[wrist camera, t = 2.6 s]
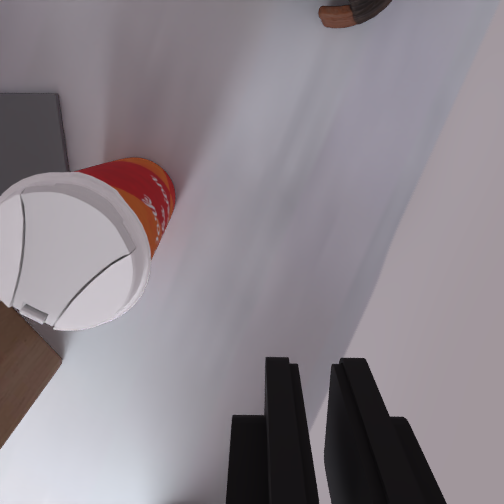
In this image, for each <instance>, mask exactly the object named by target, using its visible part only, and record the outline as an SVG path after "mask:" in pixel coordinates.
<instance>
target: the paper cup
mask: <svg viewBox="0 0 504 504" xmlns="http://www.w3.org/2000/svg"><path fill="white" fill-rule="evenodd" d="M174 206H175V189H174V186H173V183H172V181H171V179H170V177H169V176H168V174H167V173H166V172H165V171H164V170H163V169H162V168H161V167H160V166H159V165H157V164H156V163H154V162H152V161H150V160H147V159H143V158H125V159H120V160H115V161H112V162H108V163H104V164H100V165H96V166H93V167H89V168H85V169H82V170H78V171H74V172H48V173H42V174H36V175H33V176H30V177H27V178H24V179H22V180H20V181H19V182H17V183H15V184H13V185H12V186H11V187H9V188H8V189H7V190H6V191H5V192H3V193H2V195H1V196H0V300H1V301H2V302H3V303H4V304H5V305H6V306H7V307H11V306H12V305H13V307H14V308H16V309H18V310H20V314H22V315H24V316H26V317H28V318H30V319H32V320H34V321H36V322H38V323H40V324H43V323H47V324H49V325H51V326H53V325H55V327H54V328H53V329H54V330H61V331H77V330H84V329H89V328H92V327H95V326H98V325H100V324H104V323H107V322H110V321H112V320H114V319H116V318H118V317H120V316H121V315H123V314H124V313H126V312H127V311H128V310H129V309H131V308H132V307H133V306H134V305H135V304H136V302H137V301H138V300H139V298H140V297H141V295H142V294H143V292H144V290H145V288H146V285H147V283H148V279H149V276H150V271H151V260H152V257H153V255H154V253H155V251H156V249H157V247H158V245H159V242H160V240H161V238H162V236H163V234H164V231H165V229H166V227H167V225H168V222H169V220H170V218H171V215H172V213H173V210H174Z"/></svg>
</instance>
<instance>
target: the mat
mask: <svg viewBox="0 0 504 504" xmlns="http://www.w3.org/2000/svg"><path fill="white" fill-rule="evenodd" d="M48 172H69V167H68V160H67V153H66V146H65V139H64V132H63V125H62V118H61V111H60V104H59V97H58V94H53V93H0V196H1V195H2V193H3V192H5V191H6V190H7V189H8V188H9V187H11V186H12V185H13V184H15V183H17V182H19V181H20V180H22V179H24V178H27V177H30V176H33V175H36V174H42V173H48Z"/></svg>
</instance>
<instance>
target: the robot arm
mask: <svg viewBox="0 0 504 504" xmlns="http://www.w3.org/2000/svg"><path fill="white" fill-rule="evenodd" d="M324 463H325V471H326V476H327V481H328V487H329V493H330V498H331V503H332V504H447V503H446V501H445V499H444V497H443V495H442V493H441V491H440V488H439V486H438V484H437V482H436V480H435V478H434V475H433V473H432V471H431V469H430V467H429V465H428V463H427V460H426V458H425V456H424V454H423V452H422V450H421V448H420V445H419V443H418V441H417V439H416V437H415V435H414V433H413V431H412V428H411V426H410V424H409V423H408V421H407V419H406V418H404V417H390V416H389V414H388V411H387V409H386V407H385V405H384V402H383V399H382V397H381V394H380V392H379V390H378V388H377V385H376V382H375V380H374V378H373V375H372V373H371V371H370V368H369V366H368V363H367V361H366V359H364V358H341V359H340V361H339V364H332V366H331V375H330V387H329V400H328V412H327V424H326V436H325V448H324ZM226 504H319V498H318V490H317V484H316V478H315V471H314V465H313V458H312V452H311V445H310V439H309V432H308V426H307V420H306V413H305V407H304V400H303V394H302V388H301V381H300V375H299V368H298V364H289V358H288V357H266V360H265V409H264V415H233V416H232V426H231V440H230V453H229V467H228V481H227V494H226Z"/></svg>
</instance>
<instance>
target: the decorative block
mask: <svg viewBox="0 0 504 504" xmlns="http://www.w3.org/2000/svg"><path fill="white" fill-rule="evenodd" d="M61 364H62V360H61V357H60V356H59V355H58V354H57V353H56V352H55V351H54V350H53V349H52V348H51V347H50V346H49V345H48V344H47V343H46V342H45V341H44V340H43V339H42V338H41V337H40V336H39V335H38V333H37V332H36V331H35V330H34V329H33V328H32V327H31V326H30V325H29V324H28V323H27V322H26V321H25V320H24V319H23V318H22V317H21V316H20V315H19V314H18V313H17V312H16V311H15V310H14V309H13V308H12V306H11V307H7V306H6V305H5V304H4V303H3V302H2V301H0V449H1V448H2V446H3V445H4V444H5V442H6V441H7V439H8V438H9V437H10V435H11V434H12V432H13V431H14V430H15V428H16V427H17V425H18V424H19V423H20V421H21V420H22V419H23V417H24V416H25V414H26V413H27V412H28V410H29V409H30V407H31V406H32V405H33V403H34V402H35V400H36V399H37V398H38V396H39V395H40V394H41V392H42V391H43V389H44V388H45V387H46V385H47V384H48V382H49V381H50V380H51V378H52V377H53V375H54V374H55V373H56V371H57V370H58V368H59V367H60V365H61Z"/></svg>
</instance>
